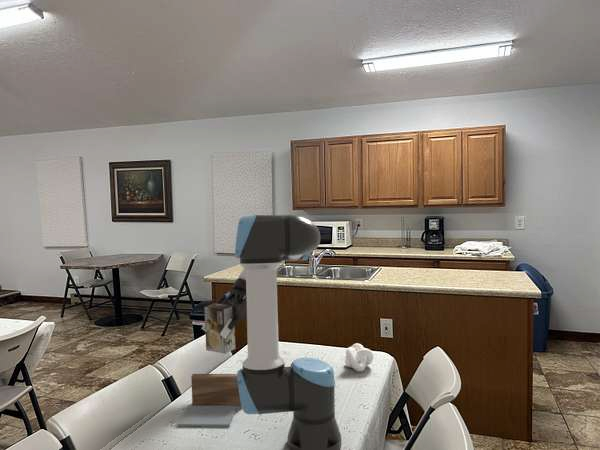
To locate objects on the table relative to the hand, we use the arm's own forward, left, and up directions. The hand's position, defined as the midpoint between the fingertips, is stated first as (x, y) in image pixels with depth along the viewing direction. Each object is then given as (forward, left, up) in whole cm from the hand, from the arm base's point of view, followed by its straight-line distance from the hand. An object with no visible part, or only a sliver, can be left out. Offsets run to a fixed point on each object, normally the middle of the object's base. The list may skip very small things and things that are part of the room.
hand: (213, 333), depth 148 cm
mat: (-17, -2, -22) cm, 28 cm away
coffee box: (+2, -2, -7) cm, 8 cm away
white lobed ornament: (+22, -53, -22) cm, 62 cm away
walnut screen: (-8, -4, -22) cm, 24 cm away
